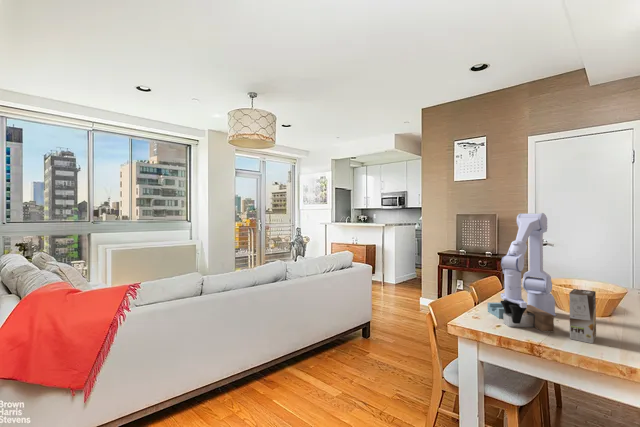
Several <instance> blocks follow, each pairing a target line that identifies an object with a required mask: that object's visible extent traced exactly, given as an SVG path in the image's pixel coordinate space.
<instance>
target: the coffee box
mask: <svg viewBox="0 0 640 427" xmlns="http://www.w3.org/2000/svg"><path fill="white" fill-rule="evenodd" d="M596 299H597V296H596V291H595V290H588V289H577V288H572V290H571V291H569V339H570V340H573V341H580V342H583V343H584V342H585V343H589V344H594V341H595V339H596V338H597V307H596V305H597V304H596V302H597V301H596Z"/></svg>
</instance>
